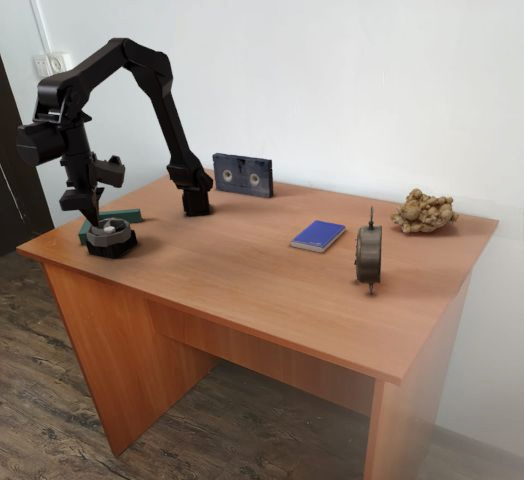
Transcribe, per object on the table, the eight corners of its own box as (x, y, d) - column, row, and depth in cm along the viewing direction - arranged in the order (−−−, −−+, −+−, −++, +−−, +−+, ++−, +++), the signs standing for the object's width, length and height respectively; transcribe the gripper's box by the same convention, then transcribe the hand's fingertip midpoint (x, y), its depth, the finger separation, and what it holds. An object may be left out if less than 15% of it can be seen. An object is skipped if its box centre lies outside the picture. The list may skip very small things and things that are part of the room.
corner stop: (142, 219, 133) (139, 208, 132) (136, 240, 123) (133, 229, 121) (91, 223, 133) (88, 212, 131) (81, 245, 123) (77, 234, 121)
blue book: (322, 246, 111) (345, 225, 119) (290, 240, 115) (314, 219, 123) (322, 253, 112) (345, 231, 120) (290, 246, 116) (314, 225, 124)
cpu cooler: (110, 238, 111) (75, 232, 115) (116, 261, 115) (82, 254, 119) (138, 220, 119) (104, 215, 122) (143, 242, 122) (110, 236, 126)
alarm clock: (379, 298, 96) (387, 219, 86) (350, 297, 97) (355, 218, 87) (380, 270, 104) (387, 195, 94) (354, 269, 106) (358, 194, 95)
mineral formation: (408, 211, 127) (468, 219, 119) (385, 239, 120) (447, 250, 112) (408, 181, 121) (471, 188, 113) (383, 209, 115) (448, 218, 107)
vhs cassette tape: (274, 195, 141) (272, 159, 135) (268, 198, 139) (266, 162, 133) (221, 186, 149) (217, 152, 143) (215, 189, 147) (211, 155, 141)
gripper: (109, 162, 90) (128, 241, 100) (123, 134, 105) (139, 206, 114) (46, 167, 90) (72, 246, 99) (70, 138, 105) (90, 210, 114)
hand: (96, 226), depth 107 cm, fingers closed
